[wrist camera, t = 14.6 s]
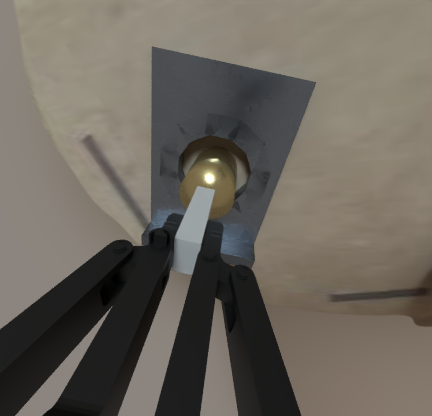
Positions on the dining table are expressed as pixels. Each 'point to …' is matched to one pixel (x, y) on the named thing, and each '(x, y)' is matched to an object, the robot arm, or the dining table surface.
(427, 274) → the dining table surface
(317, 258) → the dining table surface
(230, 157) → the gold round-ended peg
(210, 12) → the dining table surface
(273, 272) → the dining table surface
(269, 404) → the robot arm
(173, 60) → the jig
